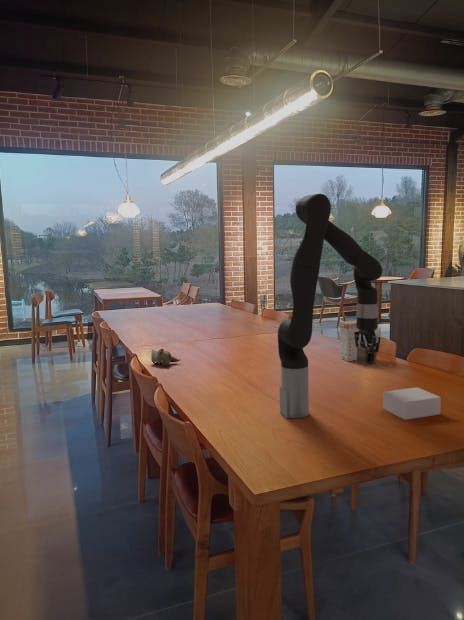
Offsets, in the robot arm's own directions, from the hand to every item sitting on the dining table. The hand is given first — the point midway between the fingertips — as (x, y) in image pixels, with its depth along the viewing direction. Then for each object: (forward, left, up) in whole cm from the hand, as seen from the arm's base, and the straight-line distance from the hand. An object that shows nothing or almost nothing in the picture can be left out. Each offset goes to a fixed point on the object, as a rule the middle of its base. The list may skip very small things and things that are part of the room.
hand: (366, 361), depth 171 cm
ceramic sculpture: (-63, +88, -15) cm, 109 cm away
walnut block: (0, 0, -1) cm, 1 cm away
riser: (+8, -15, -15) cm, 23 cm away
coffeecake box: (+31, +59, -15) cm, 68 cm away
